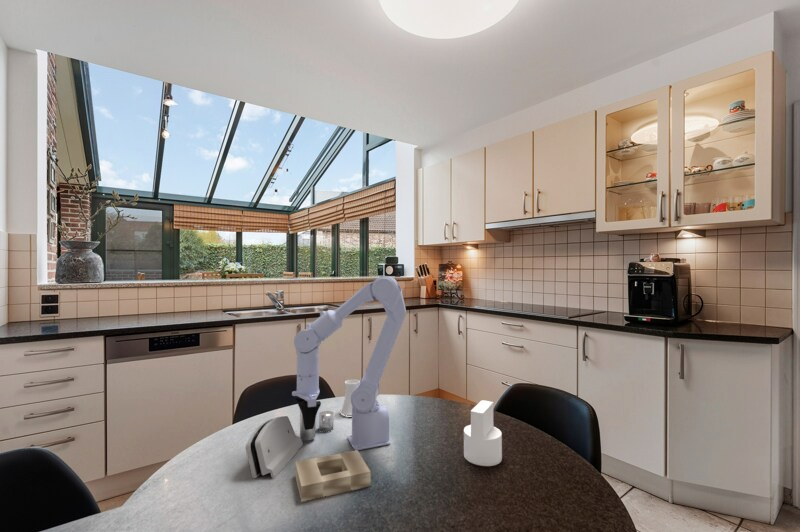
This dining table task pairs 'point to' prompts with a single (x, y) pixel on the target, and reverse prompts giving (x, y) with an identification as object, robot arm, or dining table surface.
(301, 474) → the hole plate
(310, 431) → the tall pin
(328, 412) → the short pin
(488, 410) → the base with upright slab
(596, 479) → the dining table surface
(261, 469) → the white slotted housing
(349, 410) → the vase
